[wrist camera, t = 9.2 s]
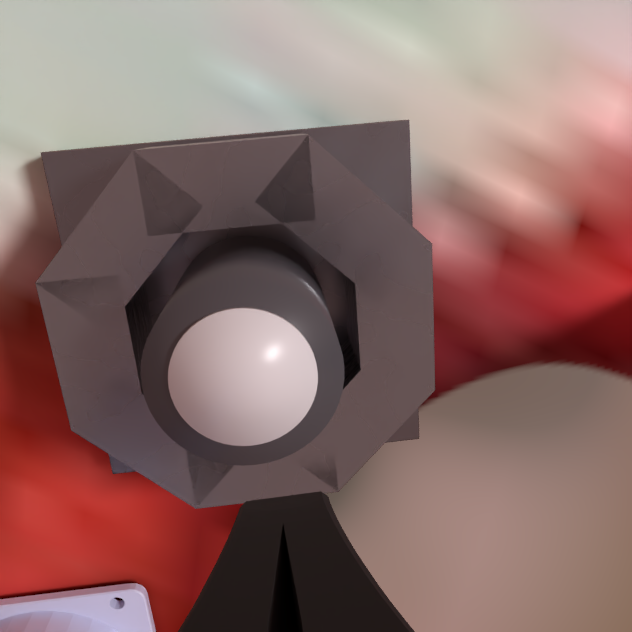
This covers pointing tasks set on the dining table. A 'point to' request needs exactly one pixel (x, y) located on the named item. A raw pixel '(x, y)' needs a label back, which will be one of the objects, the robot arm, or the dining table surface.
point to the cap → (244, 355)
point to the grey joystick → (220, 224)
